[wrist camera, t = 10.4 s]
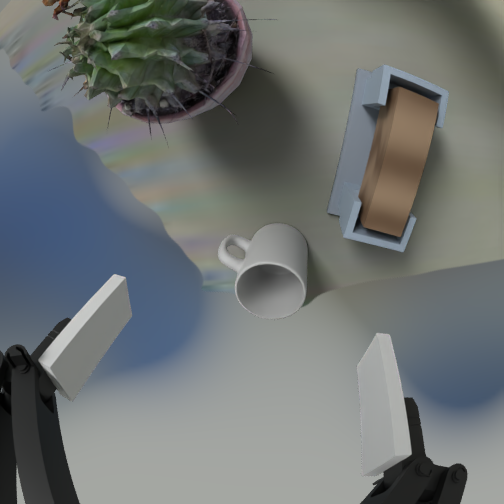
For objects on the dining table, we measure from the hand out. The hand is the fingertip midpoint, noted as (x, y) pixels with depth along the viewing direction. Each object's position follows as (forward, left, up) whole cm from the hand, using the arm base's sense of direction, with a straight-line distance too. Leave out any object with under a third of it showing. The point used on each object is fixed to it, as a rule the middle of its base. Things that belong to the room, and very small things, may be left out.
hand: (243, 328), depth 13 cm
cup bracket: (-8, +11, -27) cm, 30 cm away
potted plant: (-15, -12, -27) cm, 33 cm away
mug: (+9, -1, -27) cm, 29 cm away
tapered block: (-8, +11, -23) cm, 27 cm away
